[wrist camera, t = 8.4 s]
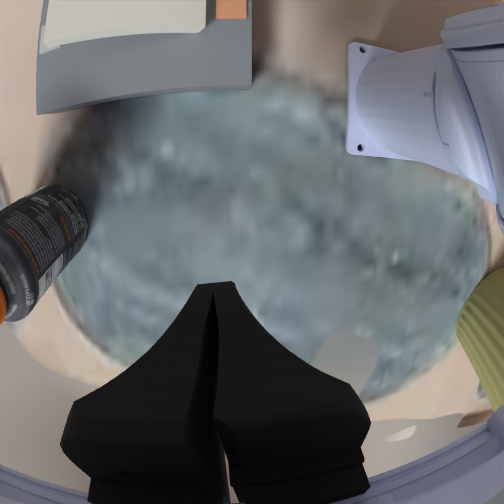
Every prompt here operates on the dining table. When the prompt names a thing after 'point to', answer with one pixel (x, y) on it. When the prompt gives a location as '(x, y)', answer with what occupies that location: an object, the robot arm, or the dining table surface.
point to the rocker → (120, 18)
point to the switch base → (147, 62)
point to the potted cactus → (486, 334)
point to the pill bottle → (37, 246)
